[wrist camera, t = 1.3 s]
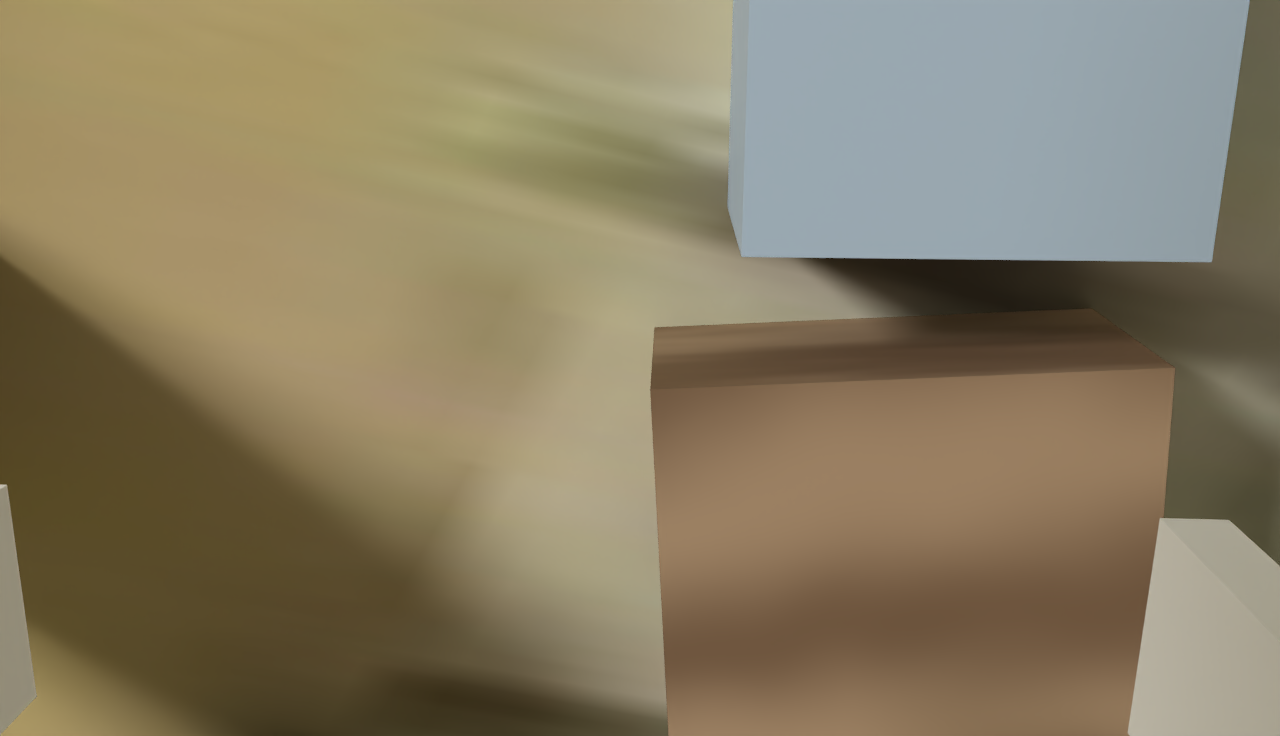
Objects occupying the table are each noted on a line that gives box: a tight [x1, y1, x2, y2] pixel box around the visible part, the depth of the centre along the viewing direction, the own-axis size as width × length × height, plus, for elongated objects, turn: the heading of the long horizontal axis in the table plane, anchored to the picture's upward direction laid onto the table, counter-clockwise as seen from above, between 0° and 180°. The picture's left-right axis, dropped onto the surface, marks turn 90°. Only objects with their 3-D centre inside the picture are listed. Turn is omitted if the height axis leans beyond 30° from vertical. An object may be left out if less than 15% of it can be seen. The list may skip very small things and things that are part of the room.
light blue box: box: [728, 0, 1250, 262], centre depth 27 cm, size 10×10×7 cm
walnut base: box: [650, 308, 1175, 736], centre depth 32 cm, size 12×12×6 cm
